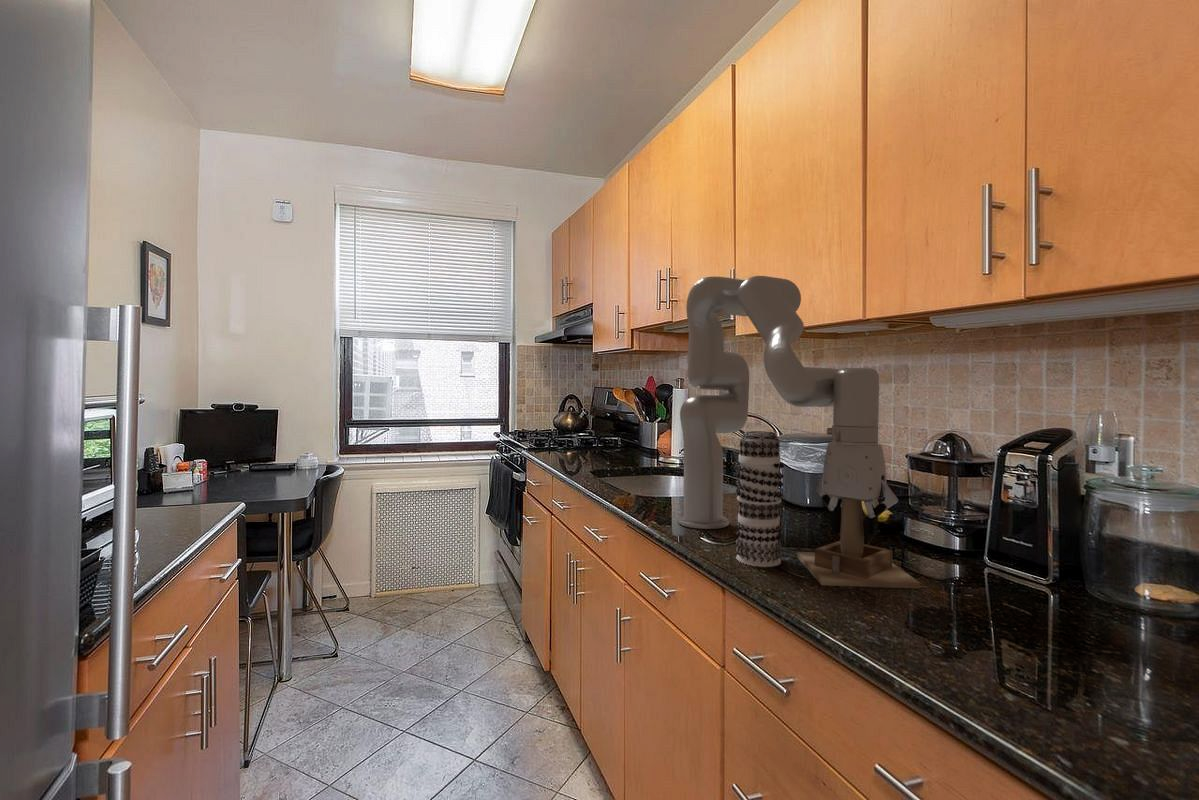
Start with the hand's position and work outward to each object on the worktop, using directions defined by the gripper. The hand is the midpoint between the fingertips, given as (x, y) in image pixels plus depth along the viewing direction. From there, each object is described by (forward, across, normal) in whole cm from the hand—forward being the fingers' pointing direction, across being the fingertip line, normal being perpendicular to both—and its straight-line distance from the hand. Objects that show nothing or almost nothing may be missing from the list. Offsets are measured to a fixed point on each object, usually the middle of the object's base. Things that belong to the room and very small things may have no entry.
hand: (853, 533), depth 103 cm
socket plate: (+7, 0, 0) cm, 7 cm away
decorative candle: (+7, -15, -8) cm, 18 cm away
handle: (+6, 0, 0) cm, 6 cm away
